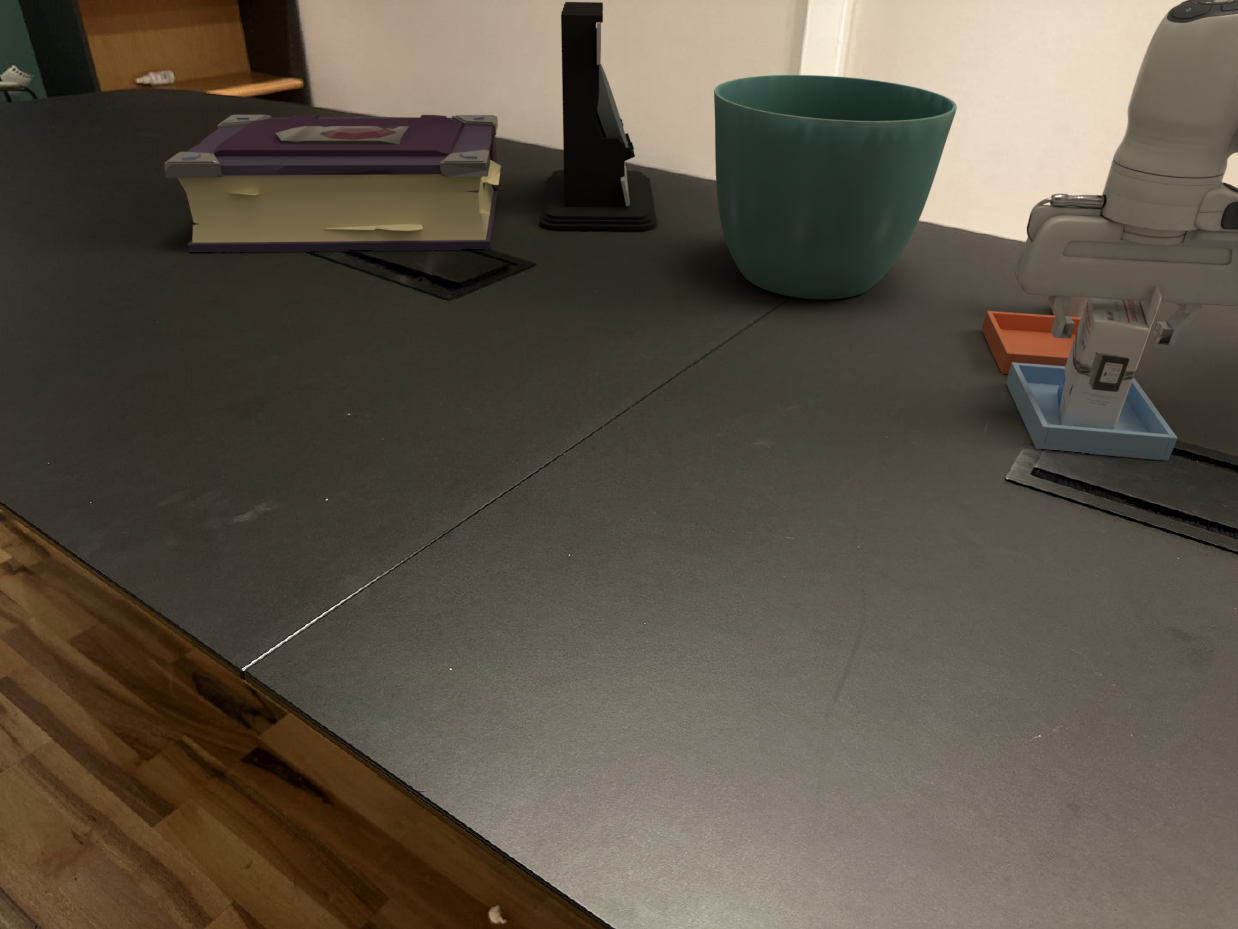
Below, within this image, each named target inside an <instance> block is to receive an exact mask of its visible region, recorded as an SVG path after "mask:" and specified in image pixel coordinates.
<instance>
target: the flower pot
mask: <svg viewBox="0 0 1238 929" xmlns="http://www.w3.org/2000/svg"><path fill="white" fill-rule="evenodd" d="M713 97H714V98H713V104H714V105H713V106H714V155H715V156H714V159H715V184H716V198H717V205H718V206H717V207H718V214H719V219H720V220H719V221H720V224H721V229H722V232H723V233H722V234H723V236H724V240H725V242H726V246H727V248H728V250H729V253H730V255H731V257H732V259H733V261H734V263H735V265H736V268H738V270H739V271H740V273H741V275H742V276H743V277H744V278H745V279H746V280H747V281H748V282H749V283H751V284H752V285H754V286H756V287H758V288H760V289H763V290H766V291H768V292H771V293H774V294H777V295H778V294H779V295H782V296H786V297H791V298H799V299H805V300H806V299H807V300H840V299H847V298H853V297H856V296H860V295H862V294H864V293H866V292H868V291H870V290H871V289H872V288H873V287H874V286H876V285H877V284H878V283H879V282H880V281H881V280H882V278H884V277H885V275H886V274H887V273H888V272H889V271H890V270H891V269H892V267H893V266H894V265H895V263H896V262H897V261H898V260H899V258H900V257H901V255H902V254H903V252H904V251H905V248H906V247H907V245H908V244H909V243H910V240H911V237H912V236H913V234H914V232H915V230H916V228H917V226H918V224H919V221H920V219H921V216H922V214H923V211H924V208H925V206H926V203H927V201H928V198H929V194H930V192H931V189H932V187H933V184H934V180H935V178H936V174H937V171H938V168H939V165H940V161H941V158H942V156H943V152H944V149H945V145H946V143H947V139H948V137H949V134H950V131H951V127H952V126H953V122H954V119H955V116H956V112H957V109H958V106H957V104H956V102H955V101H954V100H952V99H951V98H949V97H947V96H945V95H943V94H940V93H937V92H934V91H931V90H928V89H924V88H921V87H916V86H911V85H907V84H900V83H896V82H889V81H884V80H883V81H882V80H875V79H867V78H861V77H850V76H849V77H848V76H835V75H818V74H816V75H815V74H774V75H773V74H772V75H757V76H747V77H741V78H735V79H730V80H728V81H725V82H721V83H719V84H718V85H717V86H716V87H715V88H714V90H713Z"/></svg>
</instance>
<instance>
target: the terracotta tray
mask: <svg viewBox="0 0 1238 929" xmlns="http://www.w3.org/2000/svg"><path fill="white" fill-rule="evenodd" d="M1054 318H1055V316H1054V315H1051V314H1036V313H1024V312H1023V313H1021V312H1010V311H1009V312H1008V311H995V310H994V311H993V310H986V312H985V316H984V320H983V324H982V328H981V332H982V333H983V336H984V338H985V340H986V342H987V345H988V346H989V350H990V351H991V353H992V356H993V358H994V360H995V362H996V364H997V366H998V368H999V371H1000V373H1001V375H1008V374H1009V371H1010V367H1011V363H1012V362H1014V363H1027V364H1040V365H1053V366H1066V363H1067V360H1068V357H1069V354H1070V351H1071V347H1072V344H1073V341H1074V338H1075V335H1076V331H1077V328H1078V325H1079V322H1080V319H1081V318H1080V317H1071V318H1072V320H1073V321H1074V322H1075V327H1074V330H1073V331H1072V337H1071V338H1054V337H1053V335H1052V332H1051V330H1052V325H1053V322H1054Z"/></svg>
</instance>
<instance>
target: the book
mask: <svg viewBox="0 0 1238 929" xmlns="http://www.w3.org/2000/svg"><path fill="white" fill-rule="evenodd" d="M216 126H217V129H216V130H214V131H213V132H212V133H210V134H209V135H208V136H206V137H205V138H204V139H202V140H201V141H200V142H199V143H198V144H196V145H195V146H192V147H191V148H190V149H188V150H187V151H180V152H177V153H176V154H175V155H173V156H171V157H170V158H169V159H168V160H166V161H165V162H164V163H163V164H164V165H163V166H164V173H165V178H166V179H177V180H178V182H179V183H180V185H181V187H182V188H183V190H184V191H185V193H186V198H187V201H188V205H189V210H190V213H191V218H192V222H193V223H194V224H193V225H192V239H191V240H190V242H188V243H187V248H188V253H189V252H211V253H210V254H223V253H222V252H225V253H224V254H229V252H230V254H232V253H233V254H234V253H236V254H237V253H238V254H239V253H240V252H245V253H313V251H315V252H314V253H324V252H325V253H327V252H328V253H332V252H339V253H341V252H342V253H343V252H349V251H348V250H372V251H371V252H423V251H425V252H426V251H427V252H429V251H431V252H433V251H435V250H438V251H463V250H462V249H467V248H478V249H485V250H484V251H491V249H492V240H493V235H494V234H493V233H494V227H495V226H494V225H495V221H496V220H495V219H496V212H497V206H498V205H497V204H498V197H499V184H500V178H501V177H500V176H501V169H502V165H501V164H499V163H498V158H497V157H498V156H497V154H498V153H497V138H496V136H497V135H498V134H497V133H498V127H499V126H498V116H496V115H495V114H456V115H451V117H447V115H439V114H421V115H420V116H418V117H415V116H414V117H412V116H410V117H408V116H404V117H403V116H343V117H342V116H332V117H331V116H322V117H321V116H320V114H293V115H291V116H289V117H272V115H268V114H231V115H229V116H228V117H227V118H225V119H223V120H222V121H221V122H220V123H219V124H217V125H216ZM311 251H312V252H311ZM317 251H318V252H317ZM212 252H213V253H212ZM214 252H215V253H214ZM231 252H232V253H231Z"/></svg>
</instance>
